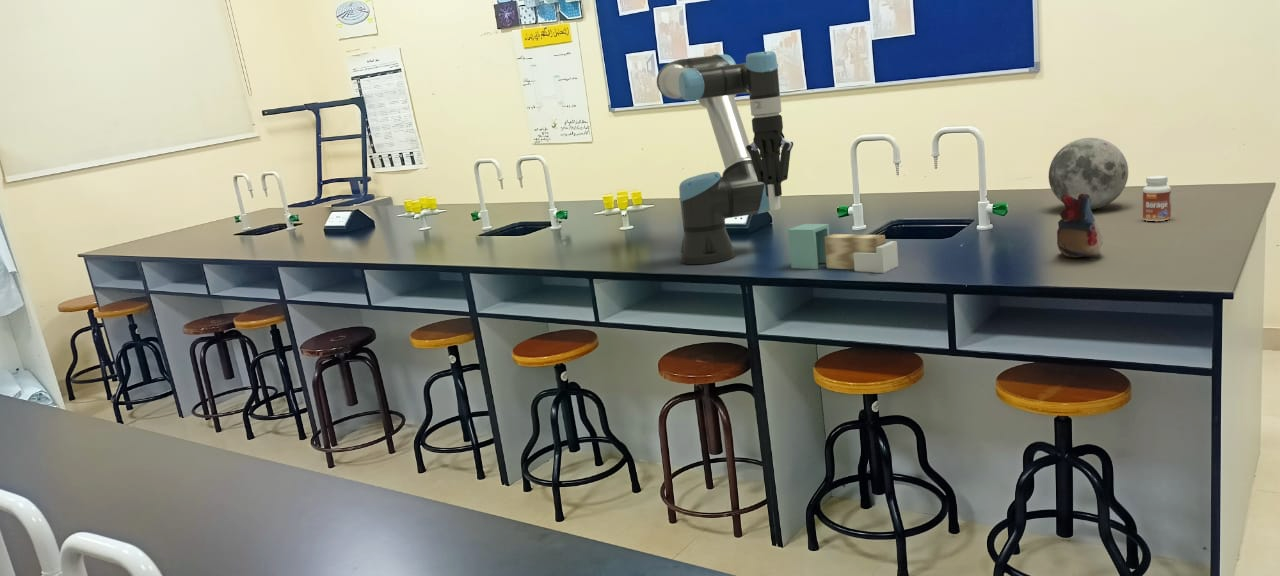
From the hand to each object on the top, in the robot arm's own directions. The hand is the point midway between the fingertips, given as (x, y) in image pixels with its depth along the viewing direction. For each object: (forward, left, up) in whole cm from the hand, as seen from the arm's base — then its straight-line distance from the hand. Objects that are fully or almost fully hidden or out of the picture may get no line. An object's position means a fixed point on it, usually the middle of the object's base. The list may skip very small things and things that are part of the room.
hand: (775, 209), depth 233 cm
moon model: (+51, +79, -15) cm, 95 cm away
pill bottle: (+72, +63, -15) cm, 97 cm away
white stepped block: (+27, 0, -15) cm, 30 cm away
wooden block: (+22, 0, -15) cm, 26 cm away
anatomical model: (+67, +19, -15) cm, 71 cm away
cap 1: (+9, 0, -14) cm, 17 cm away
